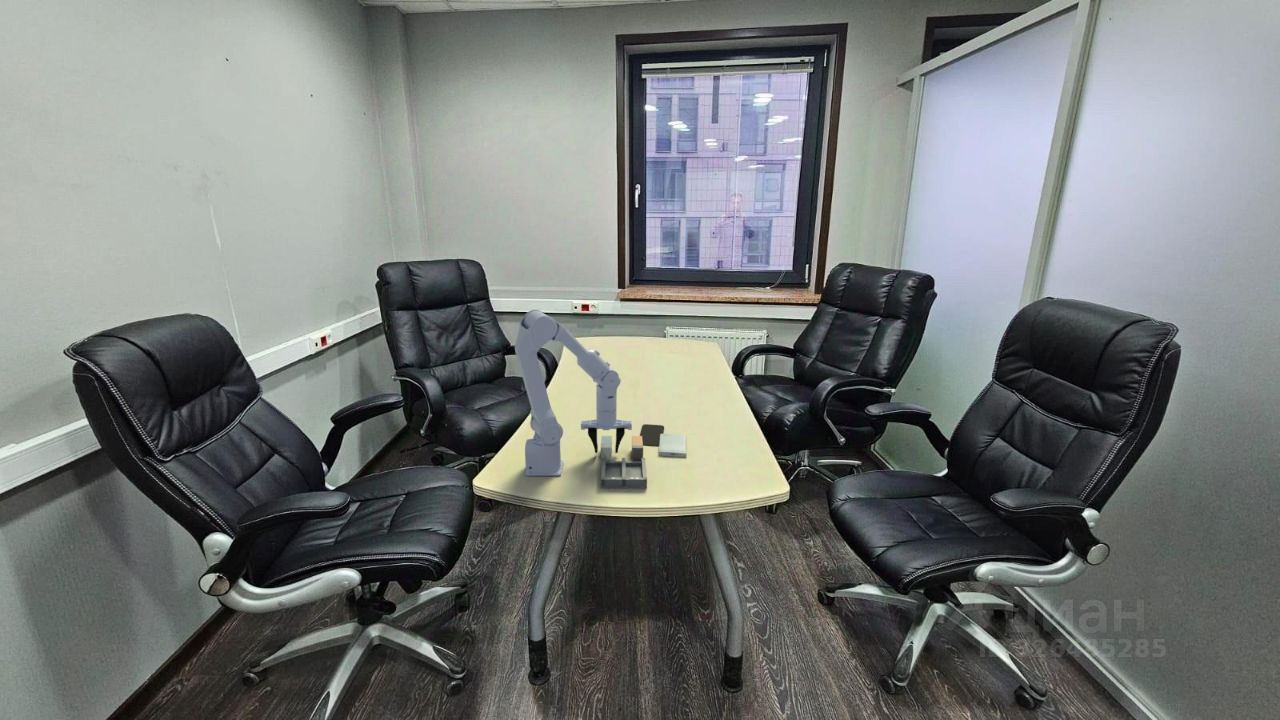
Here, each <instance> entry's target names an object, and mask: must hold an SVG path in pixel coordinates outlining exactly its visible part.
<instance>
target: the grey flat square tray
mask: <svg viewBox="0 0 1280 720" xmlns="http://www.w3.org/2000/svg"><path fill="white" fill-rule="evenodd" d="M626 459H627V458H626V457H621V460H612V461H606V458H602V462H601V471H600V472H601V473H600V489H647V488H648V475H647V474H648V473H647V464H646V463H647V462H646V457H643V458H641V461H632V460H626Z"/></svg>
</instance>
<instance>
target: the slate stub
mask: <svg viewBox="0 0 1280 720" xmlns="http://www.w3.org/2000/svg"><path fill="white" fill-rule="evenodd" d="M612 445H613V436H612V435H601V443H600V463H602V458H606V461H613V460H612V459H613V458H612V453H613V450H612V449H613V448H612V447H613V446H612Z"/></svg>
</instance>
